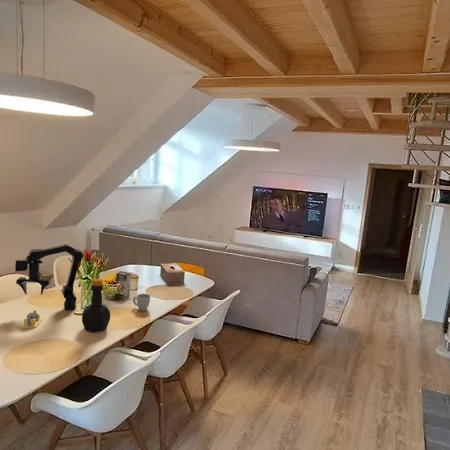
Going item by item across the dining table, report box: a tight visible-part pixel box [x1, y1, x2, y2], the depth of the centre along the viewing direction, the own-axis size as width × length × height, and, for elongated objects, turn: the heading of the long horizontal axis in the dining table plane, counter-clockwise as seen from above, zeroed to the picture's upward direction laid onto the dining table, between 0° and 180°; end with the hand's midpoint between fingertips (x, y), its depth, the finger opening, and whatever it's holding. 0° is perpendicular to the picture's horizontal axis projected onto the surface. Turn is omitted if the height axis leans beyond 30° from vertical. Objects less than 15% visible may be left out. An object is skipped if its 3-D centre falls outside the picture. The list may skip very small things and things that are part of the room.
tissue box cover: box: [159, 263, 186, 285], centre depth 329 cm, size 26×14×10 cm, turn 22°
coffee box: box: [115, 270, 132, 297], centre depth 283 cm, size 9×6×16 cm
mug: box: [132, 293, 151, 312], centre depth 258 cm, size 12×9×10 cm
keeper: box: [20, 310, 43, 329], centre depth 223 cm, size 8×11×6 cm
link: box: [26, 312, 38, 321], centre depth 223 cm, size 4×5×5 cm
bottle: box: [81, 278, 111, 334], centre depth 223 cm, size 16×16×30 cm
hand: (33, 294), depth 237 cm, fingers open, 9 cm apart
